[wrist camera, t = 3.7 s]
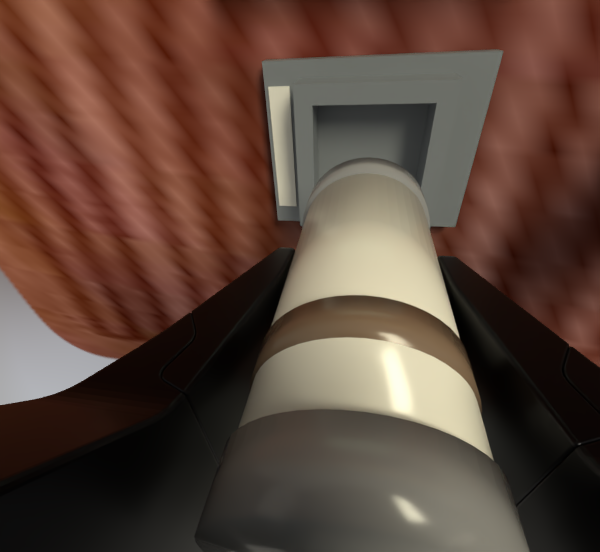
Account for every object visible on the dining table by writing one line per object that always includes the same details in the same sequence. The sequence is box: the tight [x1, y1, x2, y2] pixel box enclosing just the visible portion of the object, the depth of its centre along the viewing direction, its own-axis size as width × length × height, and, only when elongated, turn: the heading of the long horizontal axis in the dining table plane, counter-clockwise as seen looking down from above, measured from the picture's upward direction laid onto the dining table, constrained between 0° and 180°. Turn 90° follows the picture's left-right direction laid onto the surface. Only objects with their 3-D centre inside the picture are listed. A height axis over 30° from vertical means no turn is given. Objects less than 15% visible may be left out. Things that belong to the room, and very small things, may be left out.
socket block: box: [262, 49, 503, 227], centre depth 16 cm, size 10×8×3 cm
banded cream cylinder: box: [194, 157, 530, 552], centre depth 7 cm, size 4×4×9 cm
